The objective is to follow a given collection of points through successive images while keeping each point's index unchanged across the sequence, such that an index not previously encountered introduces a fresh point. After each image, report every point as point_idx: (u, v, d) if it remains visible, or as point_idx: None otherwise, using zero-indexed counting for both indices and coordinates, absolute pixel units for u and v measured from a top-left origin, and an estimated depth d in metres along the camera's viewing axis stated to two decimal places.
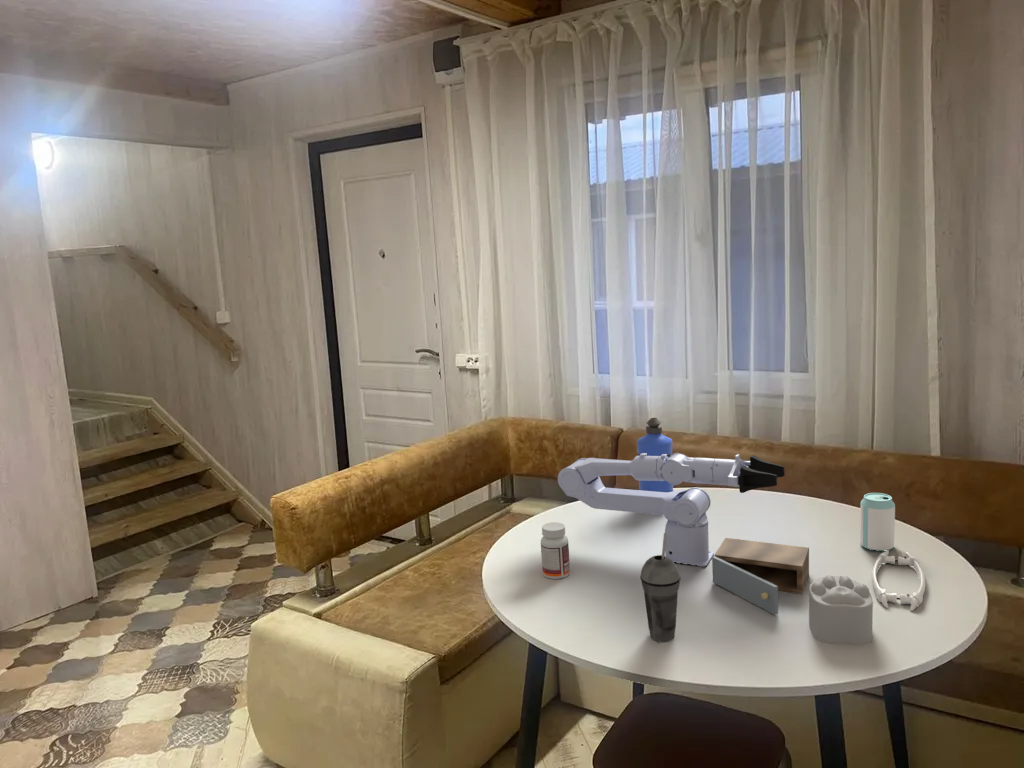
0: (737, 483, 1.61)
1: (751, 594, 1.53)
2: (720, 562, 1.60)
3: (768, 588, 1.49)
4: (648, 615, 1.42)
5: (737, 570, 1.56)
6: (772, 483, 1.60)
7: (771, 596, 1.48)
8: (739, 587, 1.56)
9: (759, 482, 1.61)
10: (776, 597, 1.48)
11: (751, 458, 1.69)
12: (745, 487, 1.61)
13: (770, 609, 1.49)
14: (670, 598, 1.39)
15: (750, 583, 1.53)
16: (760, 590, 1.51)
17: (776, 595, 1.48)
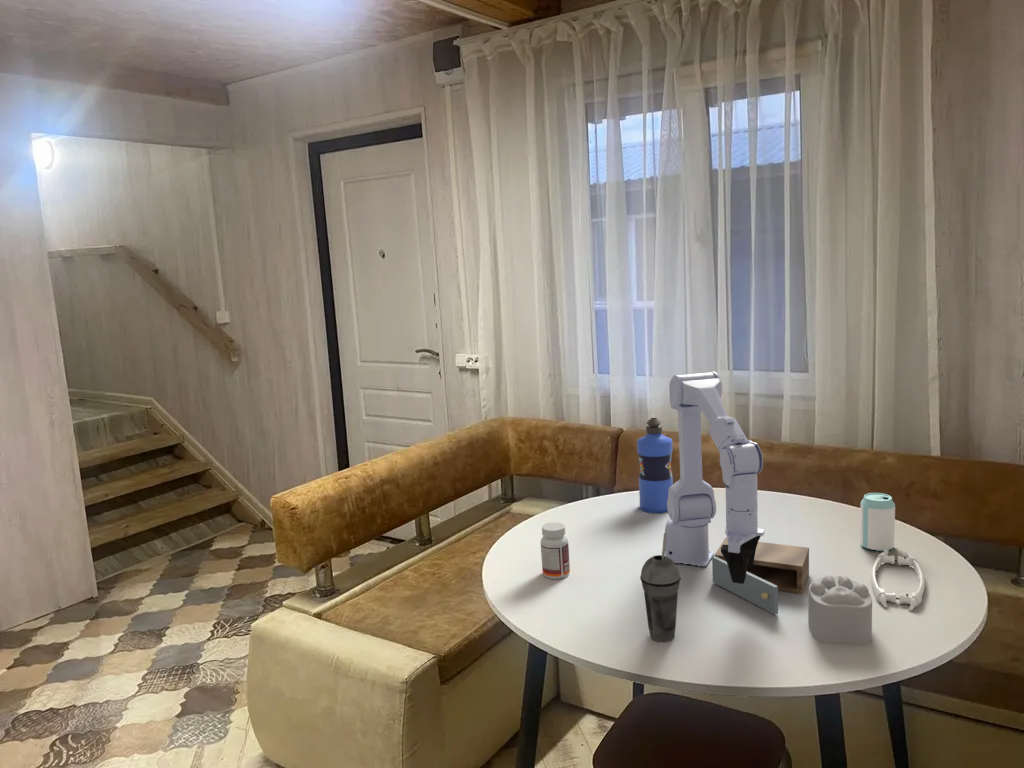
0: None
1: (751, 594, 1.53)
2: (720, 562, 1.60)
3: (768, 588, 1.49)
4: (648, 615, 1.42)
5: None
6: (734, 579, 1.44)
7: (771, 596, 1.48)
8: (739, 587, 1.56)
9: (734, 566, 1.44)
10: (776, 597, 1.48)
11: None
12: (727, 555, 1.42)
13: (770, 609, 1.49)
14: (670, 598, 1.39)
15: (750, 583, 1.53)
16: (760, 590, 1.51)
17: (776, 595, 1.48)
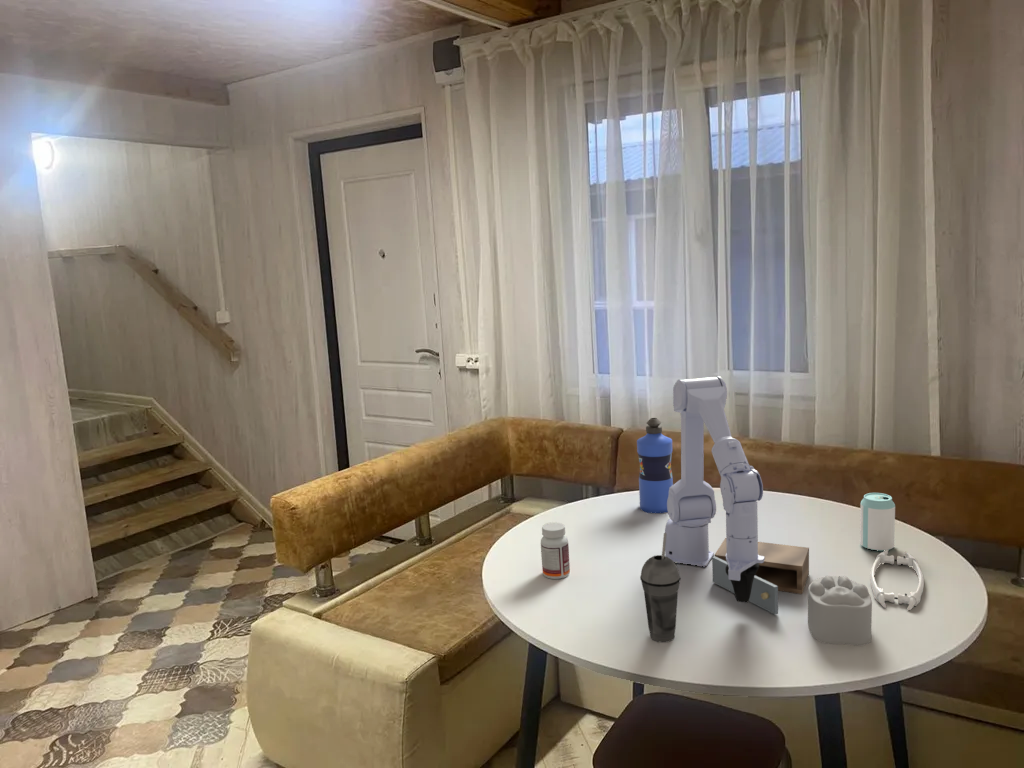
0: None
1: (751, 594, 1.53)
2: (720, 562, 1.60)
3: (768, 588, 1.49)
4: (648, 615, 1.42)
5: None
6: (738, 598, 1.48)
7: (771, 596, 1.48)
8: None
9: (738, 585, 1.48)
10: (776, 597, 1.48)
11: (755, 568, 1.46)
12: None
13: (770, 609, 1.49)
14: (670, 598, 1.39)
15: None
16: (760, 590, 1.51)
17: (776, 595, 1.48)
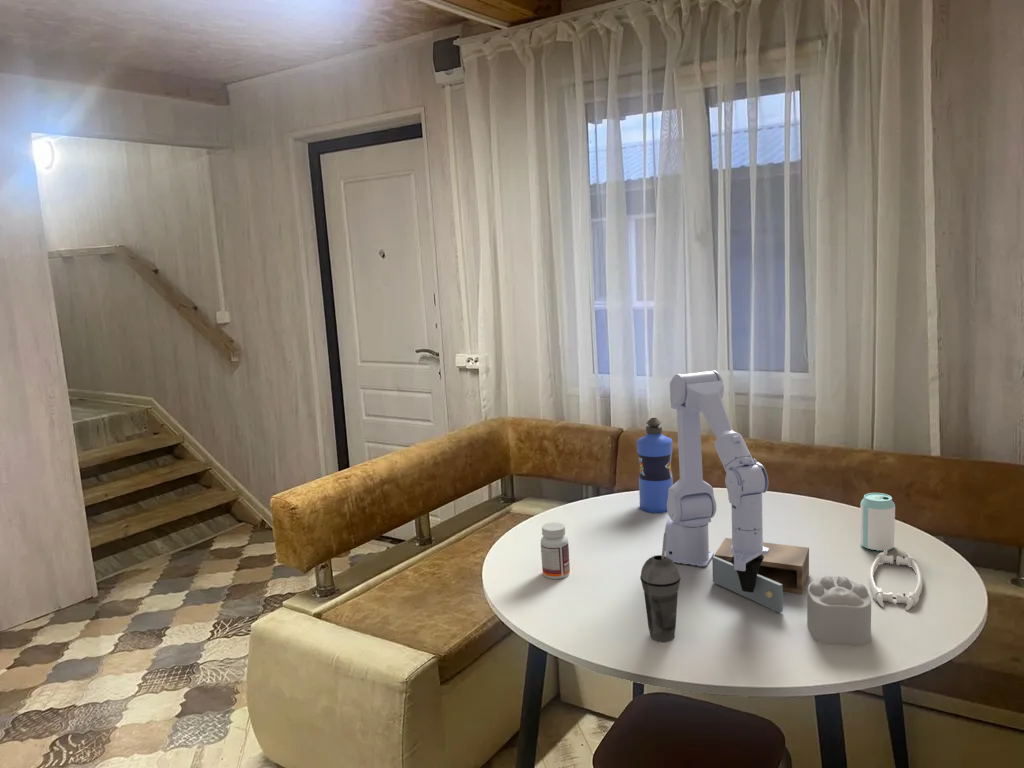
0: None
1: (754, 593, 1.54)
2: (721, 562, 1.60)
3: (773, 586, 1.49)
4: (648, 615, 1.42)
5: None
6: (744, 587, 1.52)
7: (776, 594, 1.49)
8: None
9: (744, 575, 1.52)
10: (781, 595, 1.48)
11: (760, 560, 1.50)
12: None
13: (775, 607, 1.49)
14: (670, 598, 1.39)
15: None
16: (764, 589, 1.51)
17: (781, 593, 1.48)
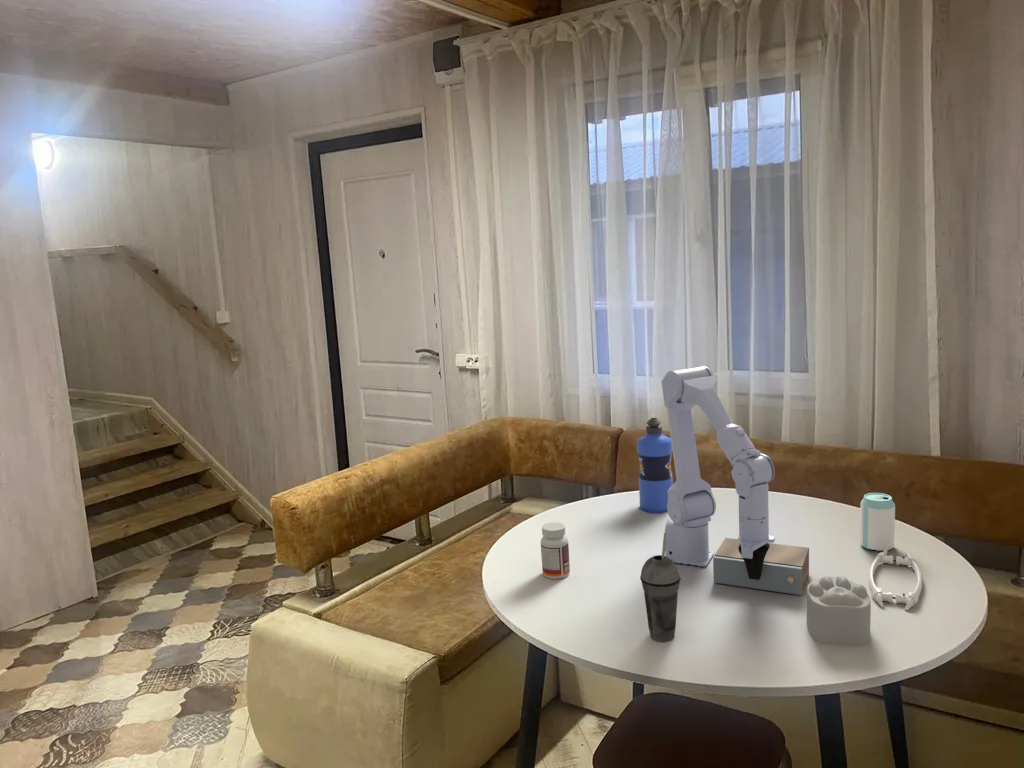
0: None
1: (769, 582, 1.58)
2: (725, 560, 1.61)
3: (792, 571, 1.55)
4: (648, 615, 1.42)
5: None
6: (751, 575, 1.58)
7: (797, 578, 1.55)
8: (752, 579, 1.59)
9: (750, 563, 1.57)
10: (801, 578, 1.55)
11: (766, 548, 1.55)
12: None
13: (796, 591, 1.55)
14: (670, 598, 1.39)
15: (768, 572, 1.57)
16: (781, 576, 1.56)
17: (801, 576, 1.55)
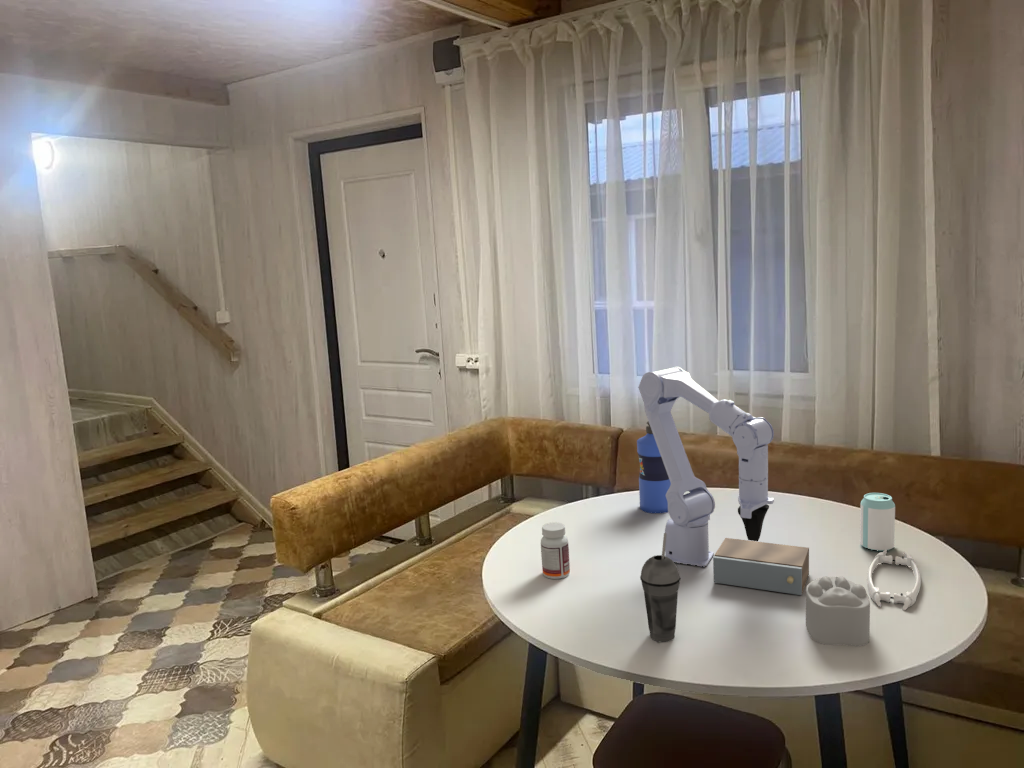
0: None
1: (769, 582, 1.58)
2: (725, 560, 1.61)
3: (792, 571, 1.55)
4: (648, 615, 1.42)
5: (749, 563, 1.59)
6: (749, 536, 1.61)
7: (797, 578, 1.55)
8: (752, 579, 1.59)
9: (749, 525, 1.61)
10: (801, 578, 1.55)
11: (765, 509, 1.59)
12: None
13: (796, 591, 1.55)
14: (670, 598, 1.39)
15: (768, 572, 1.57)
16: (781, 576, 1.56)
17: (801, 576, 1.55)
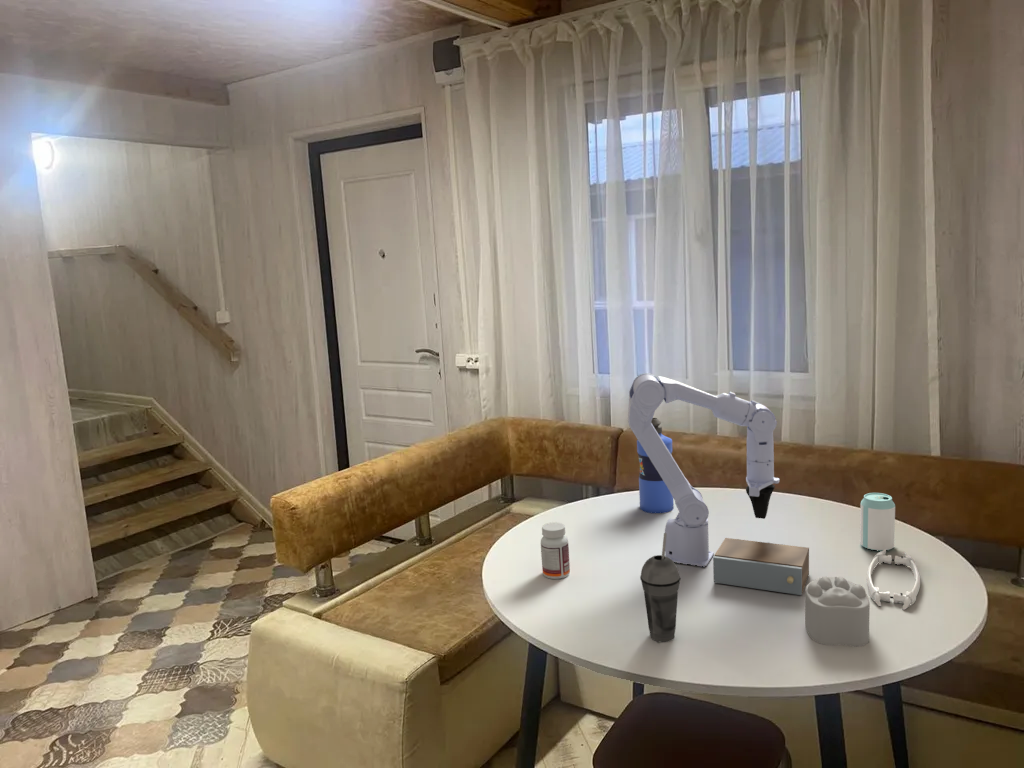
0: None
1: (769, 582, 1.58)
2: (725, 560, 1.61)
3: (792, 571, 1.55)
4: (648, 615, 1.42)
5: (749, 563, 1.59)
6: (757, 514, 1.73)
7: (797, 578, 1.55)
8: (752, 579, 1.59)
9: (757, 503, 1.72)
10: (801, 578, 1.55)
11: (772, 488, 1.71)
12: None
13: (796, 591, 1.55)
14: (670, 598, 1.39)
15: (768, 572, 1.57)
16: (781, 576, 1.56)
17: (801, 576, 1.55)
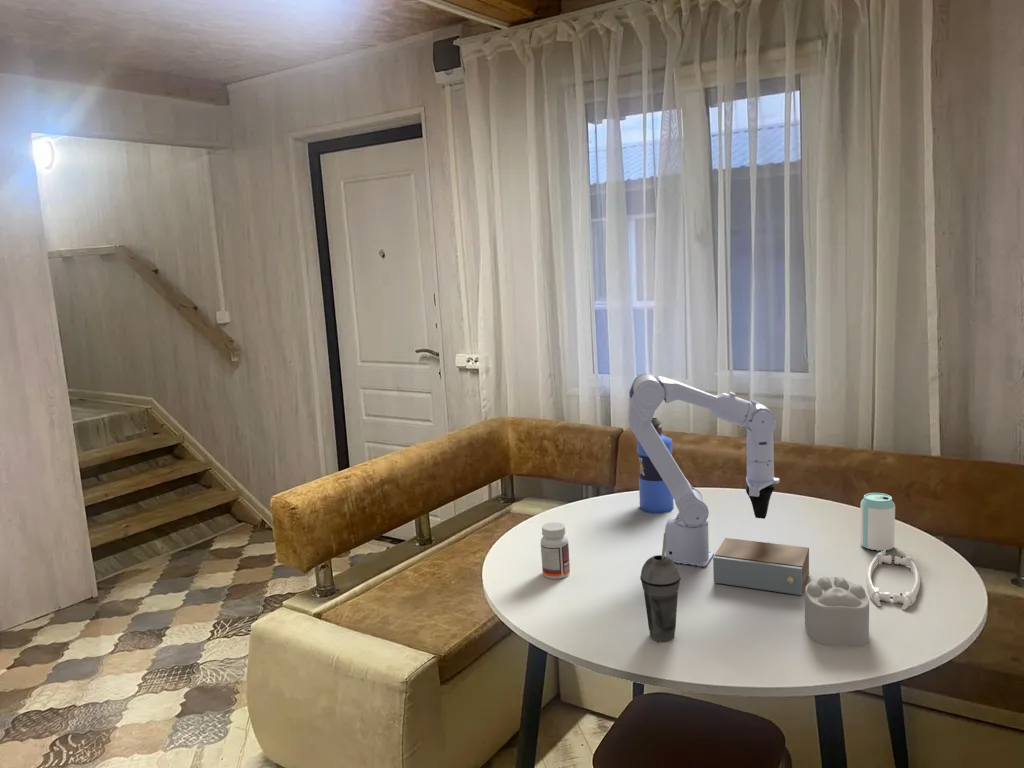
0: None
1: (769, 582, 1.58)
2: (725, 560, 1.61)
3: (792, 571, 1.55)
4: (648, 615, 1.42)
5: (749, 563, 1.59)
6: (757, 514, 1.73)
7: (797, 578, 1.55)
8: (752, 579, 1.59)
9: (757, 503, 1.72)
10: (801, 578, 1.55)
11: (772, 488, 1.71)
12: None
13: (796, 591, 1.55)
14: (670, 598, 1.39)
15: (768, 572, 1.57)
16: (781, 576, 1.56)
17: (801, 576, 1.55)
